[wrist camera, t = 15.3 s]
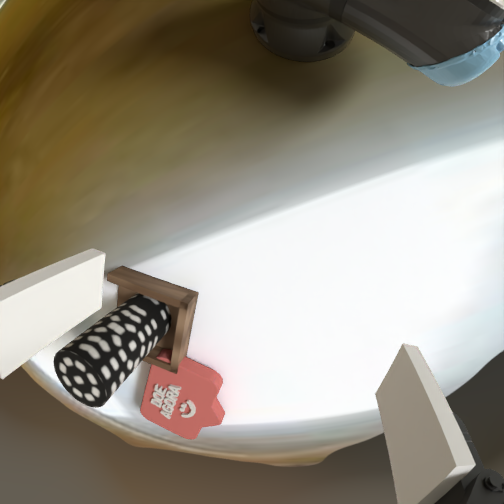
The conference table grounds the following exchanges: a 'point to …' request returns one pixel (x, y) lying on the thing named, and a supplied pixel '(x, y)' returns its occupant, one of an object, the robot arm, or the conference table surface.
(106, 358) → the spotted tube
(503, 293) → the conference table surface
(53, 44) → the conference table surface
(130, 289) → the walnut tray
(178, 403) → the plaque
